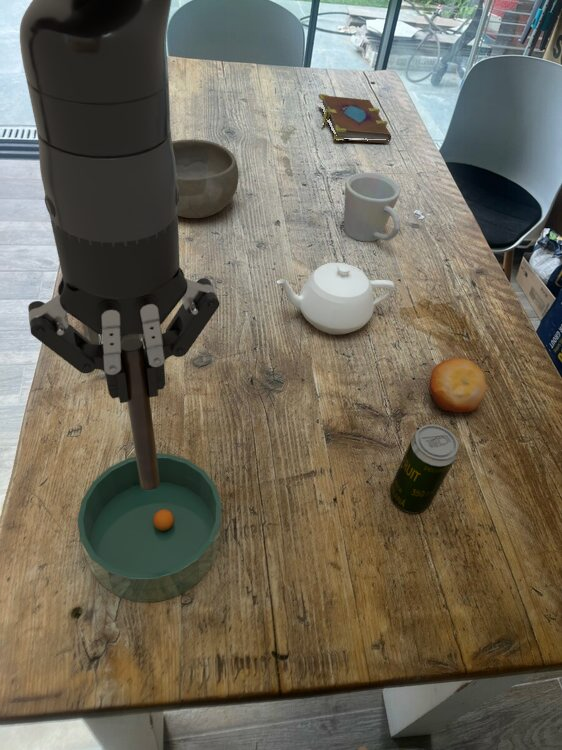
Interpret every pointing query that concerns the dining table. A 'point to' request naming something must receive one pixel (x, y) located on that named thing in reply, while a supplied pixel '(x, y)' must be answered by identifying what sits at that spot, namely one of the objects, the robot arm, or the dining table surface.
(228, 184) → the bowl
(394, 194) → the mug
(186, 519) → the mixing bowl
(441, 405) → the fruit
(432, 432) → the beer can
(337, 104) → the book
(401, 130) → the dining table surface
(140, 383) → the stick
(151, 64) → the robot arm
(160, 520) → the ball
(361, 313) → the teapot
